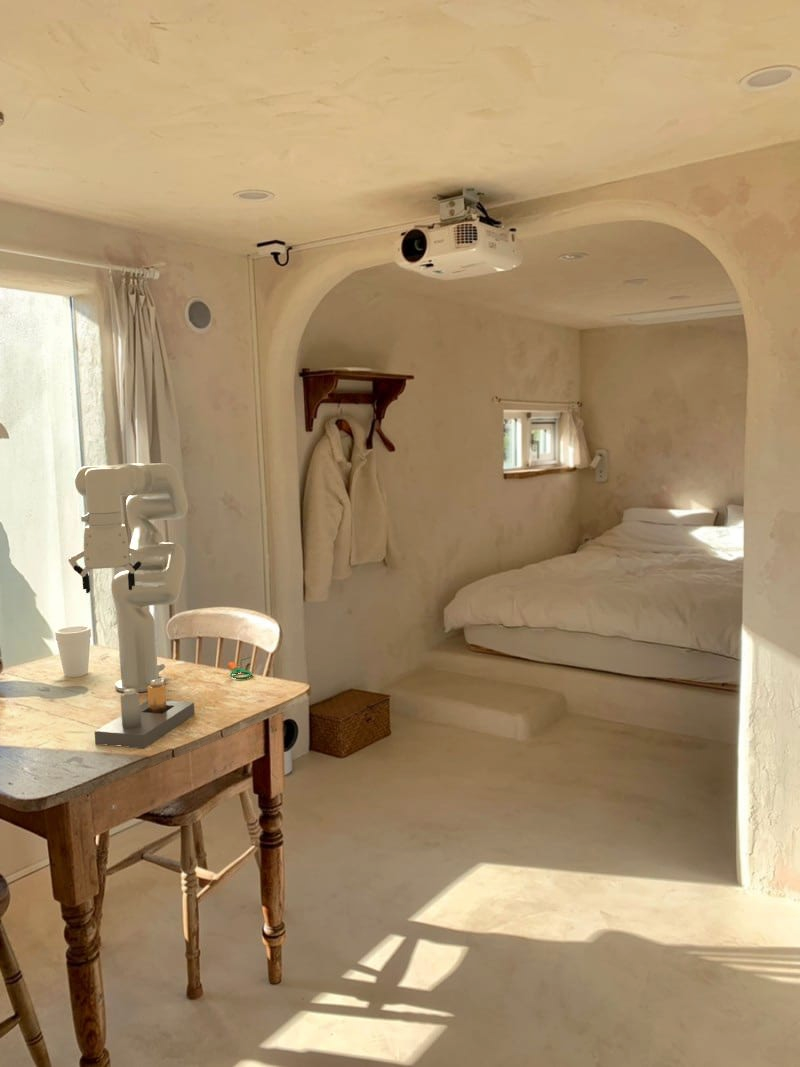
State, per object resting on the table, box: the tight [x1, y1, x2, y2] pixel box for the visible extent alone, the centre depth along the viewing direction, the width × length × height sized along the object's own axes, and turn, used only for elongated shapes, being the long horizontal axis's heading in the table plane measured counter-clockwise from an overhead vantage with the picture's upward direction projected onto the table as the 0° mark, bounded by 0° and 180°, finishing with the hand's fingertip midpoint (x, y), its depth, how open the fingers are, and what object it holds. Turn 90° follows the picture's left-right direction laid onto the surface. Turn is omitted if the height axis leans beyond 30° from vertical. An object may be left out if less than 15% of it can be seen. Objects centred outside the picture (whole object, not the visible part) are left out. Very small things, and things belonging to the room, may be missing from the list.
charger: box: [94, 689, 195, 749], centre depth 186 cm, size 22×12×11 cm, turn 166°
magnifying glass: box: [228, 661, 253, 680], centre depth 231 cm, size 15×6×2 cm, turn 25°
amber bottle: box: [147, 679, 167, 714], centre depth 191 cm, size 4×4×10 cm
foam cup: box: [55, 625, 92, 678], centre depth 232 cm, size 10×9×13 cm
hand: (109, 590), depth 196 cm, fingers open, 9 cm apart
